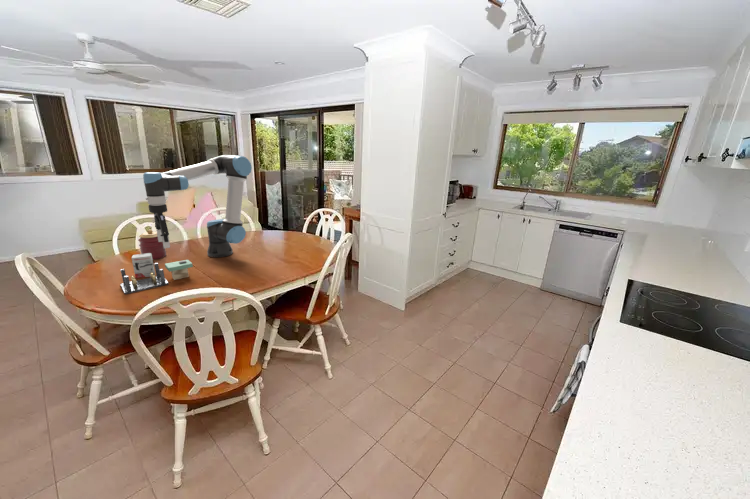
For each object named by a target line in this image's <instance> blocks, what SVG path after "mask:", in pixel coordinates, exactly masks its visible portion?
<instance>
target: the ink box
mask: <svg viewBox="0 0 750 499" xmlns="http://www.w3.org/2000/svg"><path fill="white" fill-rule="evenodd" d="M153 260H154V259H152V254H151V253H146V254H141V253H139V254H133V255H132V256H131V261H132V266H133V273H134V277H135V279H143V278H150V277H151V275H150V273H151V272H153V273H154V275H156V271H155V266H154V261H153Z"/></svg>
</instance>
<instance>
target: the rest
mask: <svg viewBox="0 0 750 499" xmlns="http://www.w3.org/2000/svg"><path fill="white" fill-rule="evenodd" d="M170 272H171V277H172V279H173V281H175V280H181V279H186V278H188V277H190V274H189V268H185V269H180V270H175V271H170Z"/></svg>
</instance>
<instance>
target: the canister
mask: <svg viewBox="0 0 750 499" xmlns="http://www.w3.org/2000/svg"><path fill="white" fill-rule="evenodd" d="M137 241H139V249H140V254H146V253H151V254H152V259H153V260H157V259H162V258H164V257H166V256H167V250H166V248H164V246H163V242H158V236H157V231H153V229H147V230H146V231H145V232H143V233H141V234H140V235H139V239H138V240H137Z"/></svg>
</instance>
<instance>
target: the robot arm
mask: <svg viewBox="0 0 750 499" xmlns="http://www.w3.org/2000/svg"><path fill="white" fill-rule="evenodd" d="M252 169H253V168H252V164H251V162H250V160H249V159H248V158H247V157H245V156H243V155H237V154H236V155H235V154H222V155H218V156H216V157H212V158H208V159H207V161H202V162H200V163H196V164H192V165H188V166H183V167H181V168H177V169H176V168H175V169H173V170H169V171H168V170H167V171H165V172H155V171H150V172H149V171H148V172H147V171H146V172H144V173H143V175H142V177H143V185H144V189H145V194H146V198H145V200H146V201H147V204H148V211H149V213H152V214H153V218H154V227H155V229H156V232H157V236H158V242H163V246H164V248H165V249H169V248H171V243H170V236H169V235H170V233H169V229H168V225H167V221H166V216H165V214H163V213H167V212H168V206H167V205H168V204H167V198H166V193H165V192H172V191H173V192H174V191H184V190H187V189H188V188H189V186H190V184H189V182H190V181H192V180H196V179H199V178H203V177H205V176H210V175H215V176H217V175H220V174H225V176H226V177H227V179H228V183H227V194H226V195H227V196H226V204H225V205H226V206H225V208H226V209H225V218H219V219H212V220H208V221H207V223H206V229H207V236H208V247H207V251H206V252H207V253H206V254H207V256H208V257H210V258H223V257H228V256H231V255H232V254H233V252H234V251H233V247H232V245H231V244H235V245H236V244H240V243H242V241H243V240H244V239H245V238H246V235H247V234H246V232H247V231H246V229H245V228H244V226H243V225H244V224H243V221H242V220H241V216H242V205H243V195H244V194H243V193H244V182H245V181H247V179H248V178H247V177H248V176H249V175H250V174H251V173H252Z"/></svg>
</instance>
